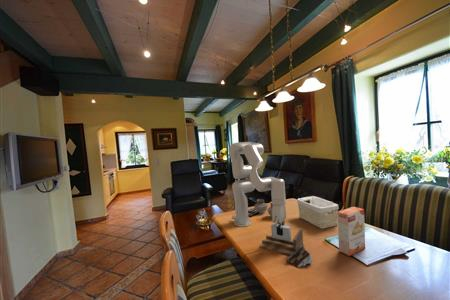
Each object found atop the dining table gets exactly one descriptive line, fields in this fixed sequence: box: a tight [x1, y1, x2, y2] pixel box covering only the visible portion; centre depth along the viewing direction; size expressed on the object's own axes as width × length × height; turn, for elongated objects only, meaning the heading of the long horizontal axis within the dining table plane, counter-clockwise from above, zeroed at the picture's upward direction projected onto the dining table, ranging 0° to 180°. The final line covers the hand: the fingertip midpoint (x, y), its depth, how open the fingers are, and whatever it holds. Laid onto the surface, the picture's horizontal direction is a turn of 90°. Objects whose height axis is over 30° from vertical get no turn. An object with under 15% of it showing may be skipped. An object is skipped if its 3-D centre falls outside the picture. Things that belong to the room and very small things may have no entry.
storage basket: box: [296, 195, 340, 230], centre depth 135 cm, size 24×16×15 cm
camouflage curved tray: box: [286, 243, 313, 268], centre depth 92 cm, size 10×7×12 cm
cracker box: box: [337, 206, 366, 257], centre depth 98 cm, size 14×6×21 cm, turn 117°
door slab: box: [270, 222, 292, 241], centre depth 107 cm, size 10×3×7 cm, turn 55°
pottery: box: [253, 198, 273, 219], centre depth 154 cm, size 11×25×12 cm, turn 33°
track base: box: [259, 228, 304, 257], centre depth 107 cm, size 20×14×9 cm
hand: (281, 233), depth 107 cm, fingers closed on door slab, 3 cm apart
